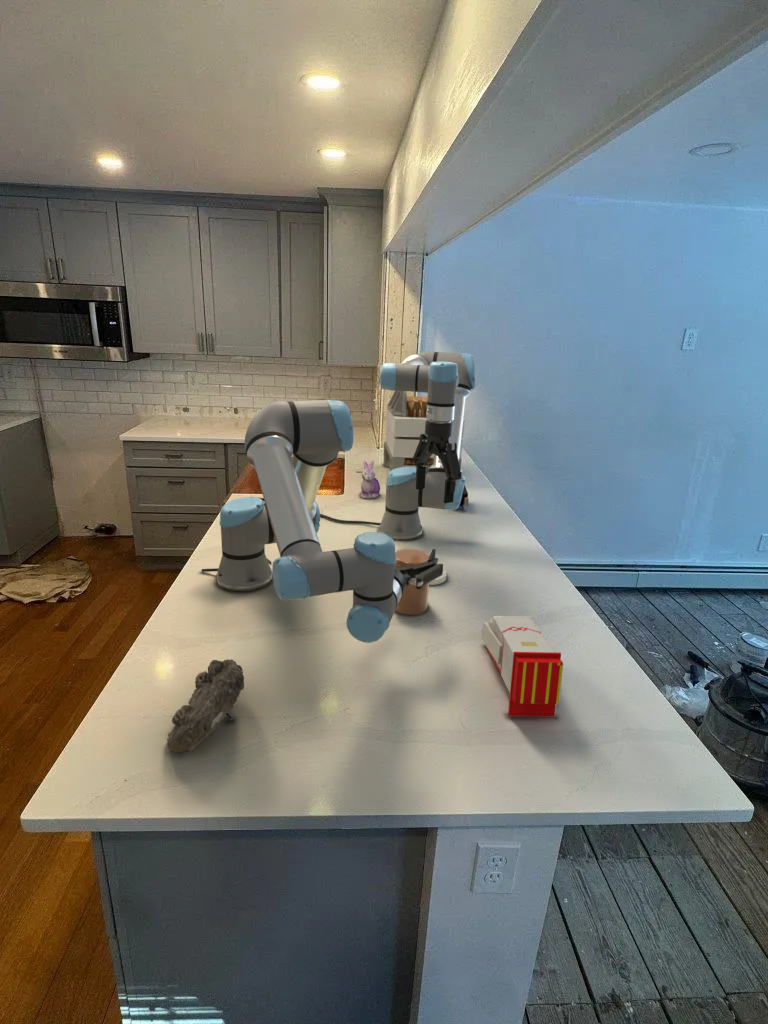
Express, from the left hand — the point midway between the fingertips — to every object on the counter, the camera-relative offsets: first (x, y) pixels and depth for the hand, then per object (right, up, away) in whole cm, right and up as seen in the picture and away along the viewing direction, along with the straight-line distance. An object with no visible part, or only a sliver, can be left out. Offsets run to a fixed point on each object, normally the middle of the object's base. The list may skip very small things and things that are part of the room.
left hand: (405, 550), depth 136 cm
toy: (+23, -27, -12) cm, 37 cm away
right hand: (+9, +14, +24) cm, 29 cm away
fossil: (-38, -30, -28) cm, 56 cm away
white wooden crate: (+12, +28, +139) cm, 142 cm away
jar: (+1, -16, +16) cm, 22 cm away
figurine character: (+25, +12, +95) cm, 99 cm away
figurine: (-11, +16, +102) cm, 104 cm away
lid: (+8, -9, +32) cm, 34 cm away
